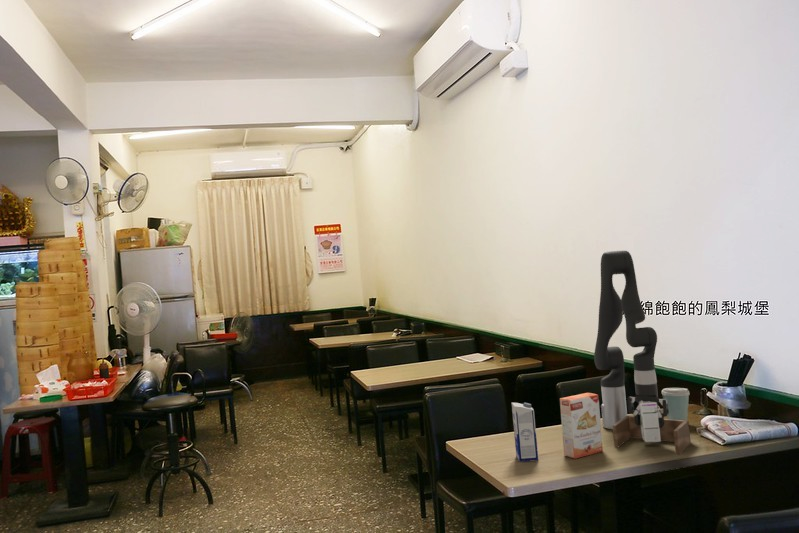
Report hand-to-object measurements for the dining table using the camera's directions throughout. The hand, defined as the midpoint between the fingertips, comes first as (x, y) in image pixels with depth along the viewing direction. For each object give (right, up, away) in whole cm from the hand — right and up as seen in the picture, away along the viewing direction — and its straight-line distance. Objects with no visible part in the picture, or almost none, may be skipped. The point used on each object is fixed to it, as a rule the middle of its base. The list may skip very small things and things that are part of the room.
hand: (649, 426), depth 214 cm
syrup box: (+1, -5, 0) cm, 5 cm away
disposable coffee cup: (+22, -6, +23) cm, 33 cm away
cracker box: (-25, -9, -4) cm, 27 cm away
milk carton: (-46, -11, -3) cm, 47 cm away
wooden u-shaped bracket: (+1, -7, 0) cm, 7 cm away
